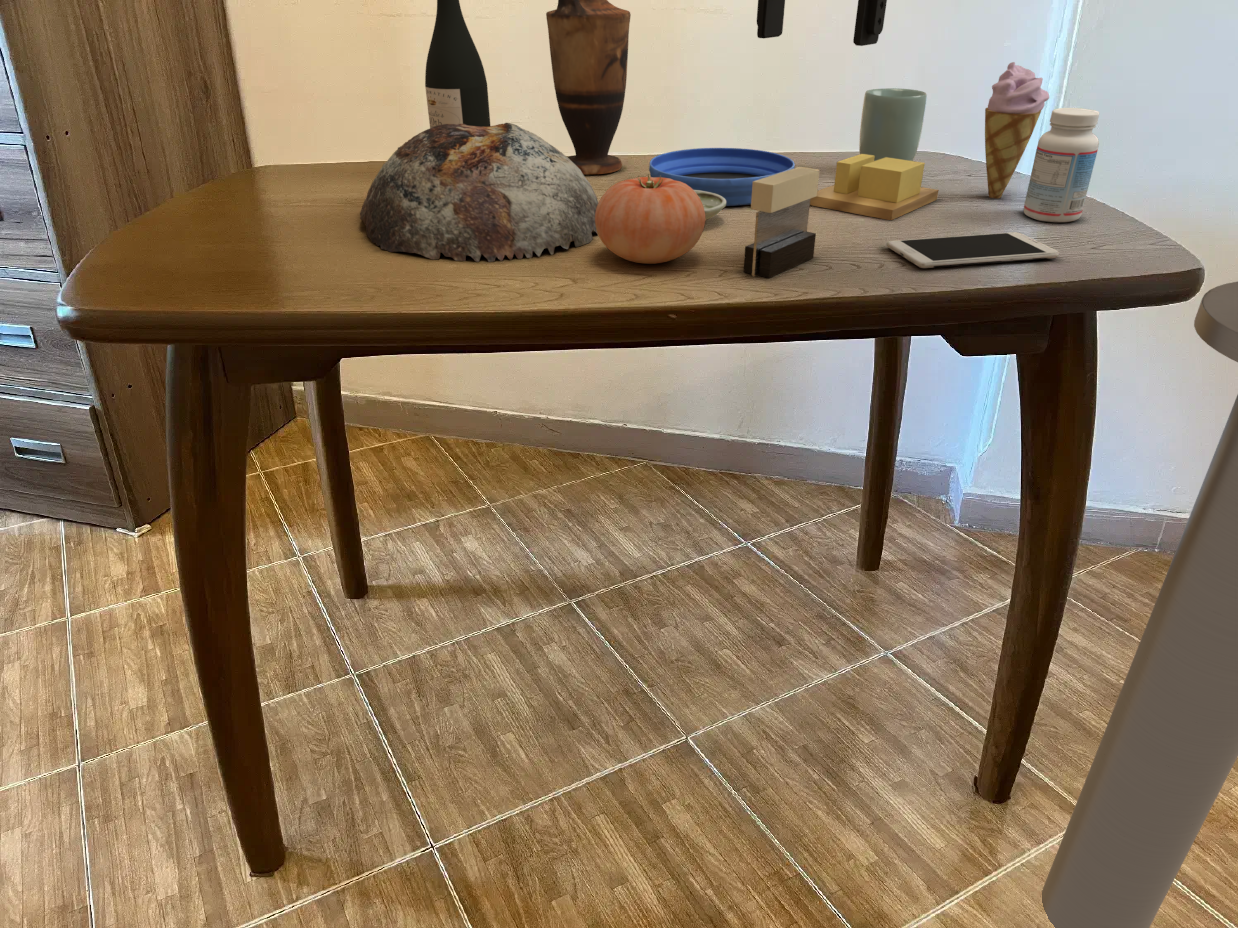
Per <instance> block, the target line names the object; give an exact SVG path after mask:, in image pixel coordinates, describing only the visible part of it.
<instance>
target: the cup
mask: <svg viewBox="0 0 1238 928" xmlns="http://www.w3.org/2000/svg"><path fill="white" fill-rule="evenodd" d="M927 99H928V94H927V93H926V92H925V91H922V90H917V89H912V88H911V89H910V88H873V89H868V90H866V91H865V92H864V95H863V102H862V108H861V118H860V126H859V140H858V150H859V155H860V154H867V155H874V156H875V157H874V161H876V160H879V159H882V158H885V157H888V158H895V159H902V160H909V161H914V160H915V157H916V155H917V153H918V148H919V145H920V141H921V138H922V137H921V136H922V132H923V126H924V120H925V114H926V108H927Z"/></svg>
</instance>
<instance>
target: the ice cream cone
mask: <svg viewBox="0 0 1238 928" xmlns="http://www.w3.org/2000/svg"><path fill="white" fill-rule="evenodd" d="M1043 80H1044V79H1043V77H1036V74H1035V72H1033V71H1032V70H1031V69H1028V68H1025V67H1024V66H1022V65H1019V64H1016V62H1015V61H1012V62H1010V63H1008V64H1007V66H1006V70H1005V71H1004V72H1003V73H1001V74H1000V75H999V77H998V81H997V82H995V83H993V84H992V86H991V90H992V95H991V96H990V98H989V99H988V103H987V107H985V109H984V150H985V153H984V154H985V167H986V180H987V181H986V182H987V192H988V193H987V194H988V198H990V199H1001V198H1002V196H1003V194H1004V193H1005V191H1006V189H1007V186H1008V185H1009V183H1010V181H1011V179H1012V177H1013V175H1014V173H1015V171H1016V169H1017V167H1018V165H1019V163H1020V161H1021V159H1022V157H1023V155H1024V153H1025V150H1026V148H1027V146H1028V145H1029V142H1030V139H1031V138H1032V135H1033V133H1034V130H1035V128H1036V125H1037V123H1038V121H1039V118H1040V115H1041V113H1042V110H1043V109H1044V107H1045V103H1046V102H1047V101H1049V99H1050V94H1049V92H1048V91H1047V90H1045V89H1043V88H1042V84H1043Z"/></svg>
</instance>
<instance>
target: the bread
mask: <svg viewBox="0 0 1238 928" xmlns="http://www.w3.org/2000/svg"><path fill="white" fill-rule="evenodd" d="M568 157H569V156H567V155H565V154H564V153H563V151H561V150H559V149H558V148H556V147H555V146H554V145H552V144H550V143H549V142H548V141H546V140H545V139H543V138H542V137H540V136H539V135H537V134H536V133H534V132H531V131H529V130H527V129H524V128H522V127H521V126H519V125H517V124H514V123H512V122H504V123H497V124H495V125H490V126H489V127H479V126H468V125H466V124H443V125H438V126H434V127H432V128H430V127H429V128H427V129H425V130H423V131H421V132H419V133H417V134H416V135H414V136H412V137H411V138H410V139H408V140H407V141H405V142H404V143H403V144H402V145H401V146H400V145H399V146H398V147H397V149H396V150H394V151H393V153H392V154H391V156H389V158H388V159H387V160H386V161H385V162H384V163H383V164H382V166H381V168H380V169H379V170H378V173H377V174H376V176H375V178H374V179H373V180H372V182H371V185H370V186H369V188H368V191H367V192H366V193H367V194H366V197H365V198H364V201H363V203H362V206H361V209H360V212H359V216H360V217H359V219H360V221H361V222H362V223H363V224H364V225H365V229H366V236H367V238H369V239H370V241H371V243H373V244H375V245H376V246H377V247H378V246H380V249H381V250H385V251H387V252H390V253H393V252H394V253H395V252H401V253H402V252H403V253H408V254H417V255H421V256H423V257H425V258H427V259H430V260H439V259H440V257H441V253H442V254H443V255H444V257H446V258H451V259H453V260H454V261H455V262H457V261H459V262H460V261H461V262H466V261H467V260H466V259H467V258H466V257H467V256H469V257H471V258H472V259H473V261H474V262H477V263H478V262H480V260H481V257H482V256H483V257H484V258H485V259H486V260H487V262H488V263H491V262H495V261H496V258H497V259H498V260H499V261H500V262H503V261H504V258H505V257H507V258H508V259H509V261H512V260H513V257H514V255H515V257H516V259H518V260H523V257H524V255H525V257H526V258H527V259H531V258H533V253H535V254H536V256H537V257H539V258H540V257H541V255H542V252H543V251H544V249H547V250H548V252H549V254H550V255H554V253H555V248H556V247H559V246H561V247H562V248H563V249H564V250H565V249H566V250H568V249H569V248H570V245H571V242H574V247H575V248H578V247H582V246H584V245H587V244H590V243H591V242H592V241H593V240H594V238H593V234H592V233H593V232H595V233H596V234H597V235H598V233H597V230H596V225H595V213H596V208H597V205H598V203H599V200H598V196H597V194H596V192H595V190H594V188H593V186H592V184H591V182H590V181H589V180H588V179H587V178H586V176H585V175H583V173H582V172H581V170H580V169H579V168H578V167H577V166H576V165H575V164H574V163H573V162H572V161H571V160H570V159H569V158H568Z"/></svg>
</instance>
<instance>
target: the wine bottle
mask: <svg viewBox="0 0 1238 928" xmlns="http://www.w3.org/2000/svg"><path fill="white" fill-rule="evenodd" d="M424 76H425V77H424V87H425V96H426V105H427V113H428V122H429V129H430V128H432V127H434V126H438V125H443V124H466V125H468V126H479V127H489V126H491V116H490V115H491V113H490V102H489V90H488V89H489V88H488V82H487V76H486V72H485V68H484V64H483V62H482V58H481V56H480V54H479V52H478V49H477V47H476V45H475V42H474V40H473V38H472V35H471V33H470V31H469V28H468V26H467V23H466V21H465V18H464V15H463V11H462V8H461V3H460V0H436V16H435V21H434V26H433V32H432V36H431V39H430V44H429V47H428V51H427V56H426V62H425V73H424Z"/></svg>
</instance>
